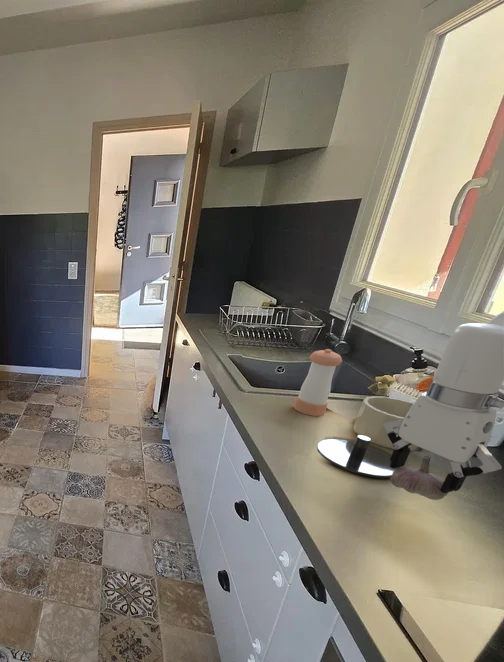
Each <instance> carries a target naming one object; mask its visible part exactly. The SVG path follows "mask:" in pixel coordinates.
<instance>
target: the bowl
mask: <svg viewBox="0 0 504 662" xmlns="http://www.w3.org/2000/svg"><path fill="white" fill-rule="evenodd" d="M414 403H415V402H413V401H409V400H407V399H401V398H396V397H390V396H385V395H384V396H381V395H371V396H366V397H364V398H363V400H362V403H361V405H360V408H359V410H358V413H357V416H356V418H355V421H354V423H353V426H352V429H353V432H354V433H355V434H357V436H358V435H363V436H366V437H369V438H370V439H371V441H370V443H372V444H375V445H378V446H381V447H384V448H387V449H392V450H394V449H393V447H392V442H391V441H390V439H389V437H388V433H387V432H386V429H385V427H384V425H383V424H384V423H385V422H390V421H396V420H401V419H404V418H405V417H406V415H407V413H408V411H409V410H410V408H411V407H412V405H413V404H414ZM400 427H401V426H400ZM400 427H397V431H398V432H399V429H400ZM408 447H409V448H410V450H411V451H410V452H419V451H420V452H421V451H422V450H423V448H420V447H418V446H416V445H413V444H412V445H410V446H408Z"/></svg>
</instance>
